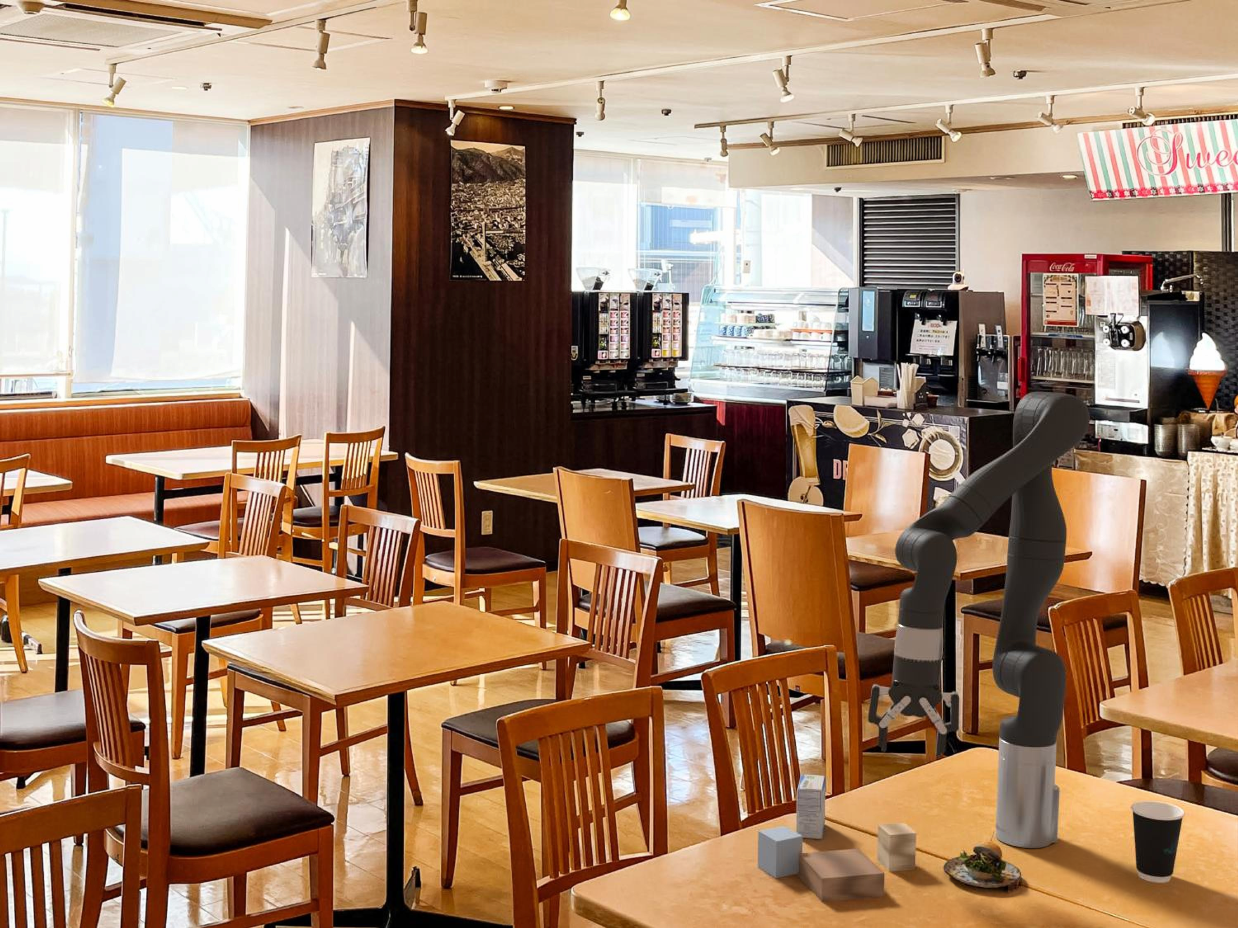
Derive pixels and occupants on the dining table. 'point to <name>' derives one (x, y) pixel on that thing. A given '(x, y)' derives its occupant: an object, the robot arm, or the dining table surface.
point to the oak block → (896, 847)
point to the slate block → (779, 851)
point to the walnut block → (841, 875)
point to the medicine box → (811, 806)
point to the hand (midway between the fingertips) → (910, 752)
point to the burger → (984, 868)
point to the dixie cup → (1156, 839)
